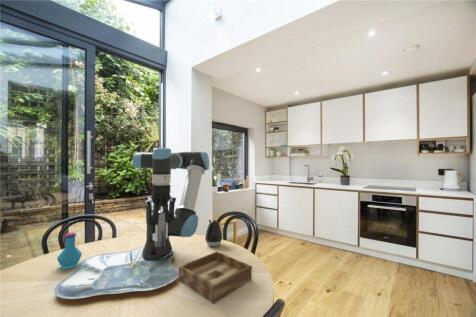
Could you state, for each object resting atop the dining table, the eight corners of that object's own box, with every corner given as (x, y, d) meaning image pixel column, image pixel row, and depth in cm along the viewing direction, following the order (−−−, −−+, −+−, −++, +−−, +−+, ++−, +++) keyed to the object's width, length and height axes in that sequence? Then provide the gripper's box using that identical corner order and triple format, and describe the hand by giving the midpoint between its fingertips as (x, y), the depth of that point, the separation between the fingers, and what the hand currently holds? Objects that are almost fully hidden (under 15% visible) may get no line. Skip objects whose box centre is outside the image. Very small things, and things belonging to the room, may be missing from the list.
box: (178, 280, 93) (179, 266, 93) (216, 263, 110) (217, 251, 110) (213, 303, 79) (214, 286, 79) (251, 279, 95) (251, 265, 95)
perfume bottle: (83, 265, 104) (84, 233, 105) (58, 272, 98) (60, 238, 98) (78, 259, 111) (80, 229, 111) (55, 265, 104) (56, 233, 104)
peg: (153, 245, 93) (153, 212, 93) (161, 242, 96) (162, 210, 96) (157, 247, 90) (158, 213, 90) (166, 245, 93) (167, 212, 93)
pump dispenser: (215, 240, 141) (215, 217, 141) (225, 245, 133) (225, 220, 133) (201, 244, 134) (202, 219, 134) (211, 249, 126) (212, 223, 127)
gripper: (146, 186, 84) (144, 247, 84) (183, 183, 97) (182, 236, 97) (137, 184, 89) (136, 242, 89) (174, 182, 102) (172, 232, 102)
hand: (160, 238), depth 93 cm, fingers closed on peg, 4 cm apart
